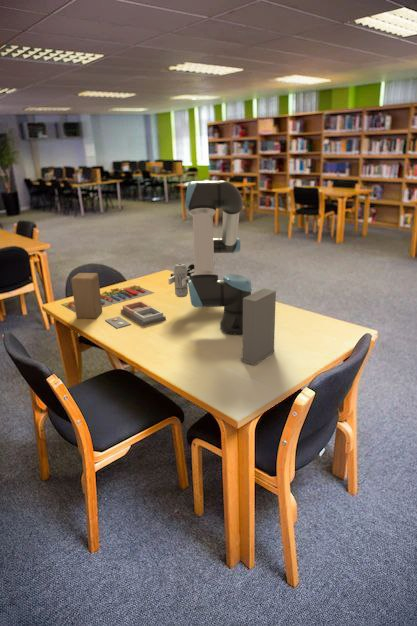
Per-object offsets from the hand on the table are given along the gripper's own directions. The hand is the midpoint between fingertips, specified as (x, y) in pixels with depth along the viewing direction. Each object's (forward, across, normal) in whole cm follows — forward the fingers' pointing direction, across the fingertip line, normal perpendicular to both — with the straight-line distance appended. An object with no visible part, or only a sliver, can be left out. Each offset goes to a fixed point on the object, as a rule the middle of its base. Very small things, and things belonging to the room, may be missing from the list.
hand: (175, 282), depth 200 cm
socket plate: (+4, +17, -17) cm, 24 cm away
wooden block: (+12, +41, -17) cm, 46 cm away
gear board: (-12, +47, -18) cm, 52 cm away
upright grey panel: (+25, -47, -18) cm, 56 cm away
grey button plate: (+15, +23, -17) cm, 32 cm away
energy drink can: (-5, 0, -8) cm, 10 cm away
